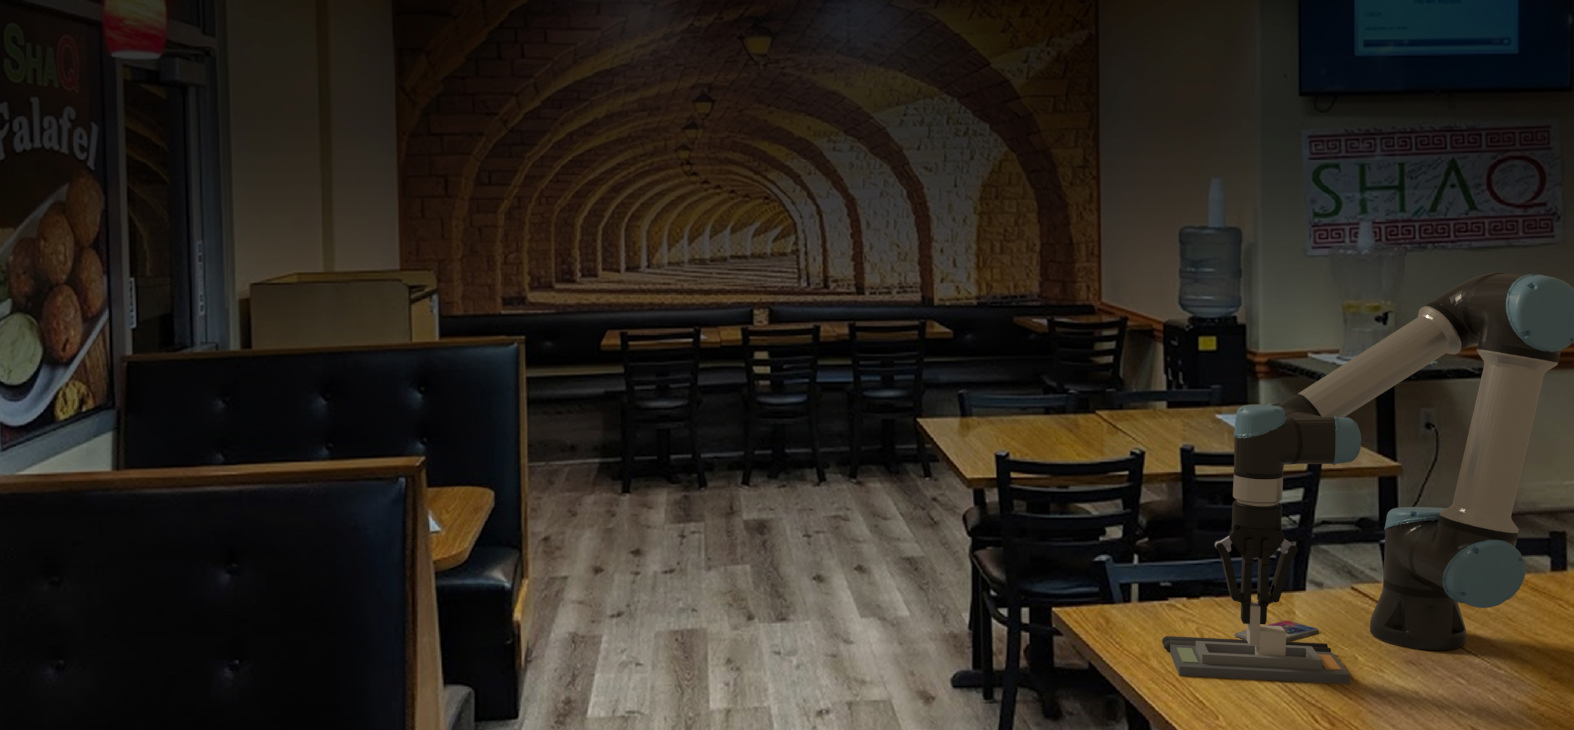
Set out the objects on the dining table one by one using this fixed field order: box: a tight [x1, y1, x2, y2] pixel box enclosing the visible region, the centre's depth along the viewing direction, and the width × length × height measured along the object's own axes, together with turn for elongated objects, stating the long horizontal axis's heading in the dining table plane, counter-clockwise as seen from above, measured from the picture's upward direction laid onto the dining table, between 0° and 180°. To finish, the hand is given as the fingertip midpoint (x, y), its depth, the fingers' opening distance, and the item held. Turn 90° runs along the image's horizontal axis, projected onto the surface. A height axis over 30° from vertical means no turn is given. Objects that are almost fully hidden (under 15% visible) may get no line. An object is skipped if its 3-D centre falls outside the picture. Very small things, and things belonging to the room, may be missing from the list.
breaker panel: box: [1169, 641, 1351, 685], centre depth 208 cm, size 26×11×3 cm, turn 81°
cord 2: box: [1163, 640, 1332, 652], centre depth 215 cm, size 27×2×2 cm, turn 81°
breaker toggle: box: [1255, 624, 1286, 656], centre depth 207 cm, size 4×4×5 cm
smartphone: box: [1233, 619, 1320, 642], centre depth 226 cm, size 7×1×15 cm
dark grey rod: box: [1161, 635, 1329, 648], centre depth 217 cm, size 27×2×2 cm, turn 81°
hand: (1252, 642), depth 208 cm, fingers closed
